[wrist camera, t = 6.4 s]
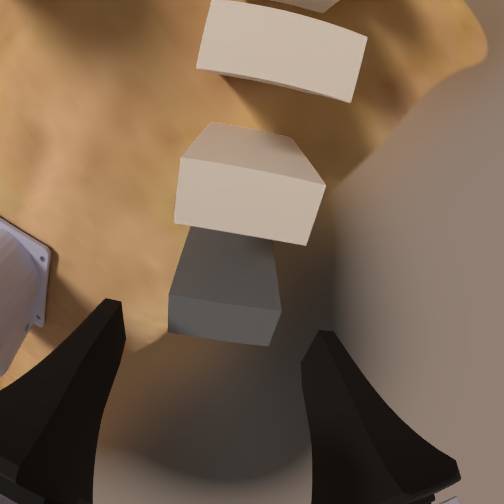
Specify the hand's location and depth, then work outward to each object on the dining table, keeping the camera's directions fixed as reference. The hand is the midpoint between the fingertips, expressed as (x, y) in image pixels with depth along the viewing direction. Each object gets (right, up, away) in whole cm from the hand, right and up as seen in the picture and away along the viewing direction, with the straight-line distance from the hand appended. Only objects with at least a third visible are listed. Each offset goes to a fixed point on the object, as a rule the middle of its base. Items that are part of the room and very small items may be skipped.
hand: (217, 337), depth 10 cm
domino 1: (+2, +12, +1) cm, 12 cm away
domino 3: (0, +4, +6) cm, 8 cm away
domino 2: (+1, +8, +4) cm, 9 cm away
